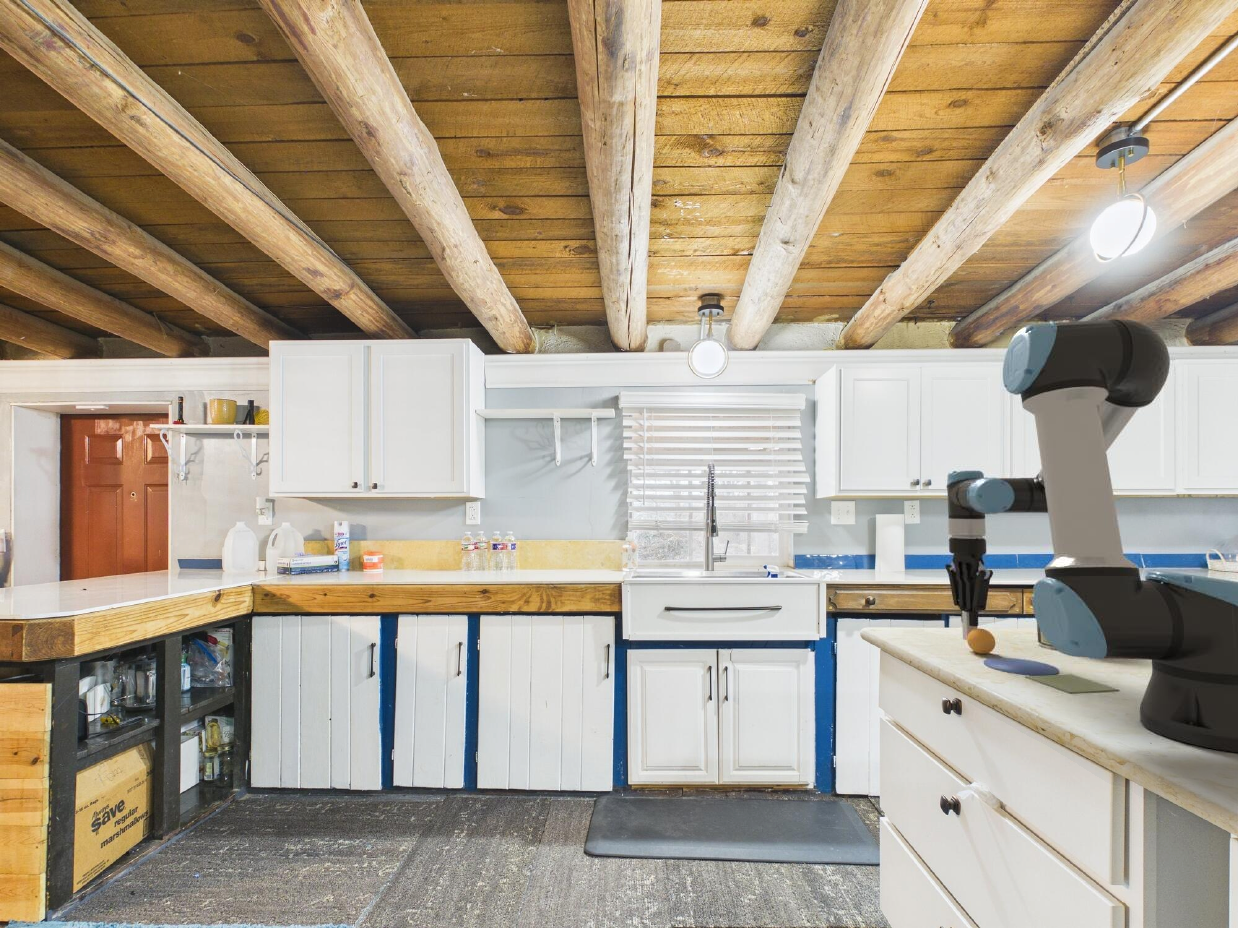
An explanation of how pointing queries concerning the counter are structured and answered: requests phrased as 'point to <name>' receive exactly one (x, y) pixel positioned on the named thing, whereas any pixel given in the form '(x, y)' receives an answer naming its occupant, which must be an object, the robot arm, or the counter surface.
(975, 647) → the ball
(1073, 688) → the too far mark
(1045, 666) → the disc
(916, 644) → the counter surface
